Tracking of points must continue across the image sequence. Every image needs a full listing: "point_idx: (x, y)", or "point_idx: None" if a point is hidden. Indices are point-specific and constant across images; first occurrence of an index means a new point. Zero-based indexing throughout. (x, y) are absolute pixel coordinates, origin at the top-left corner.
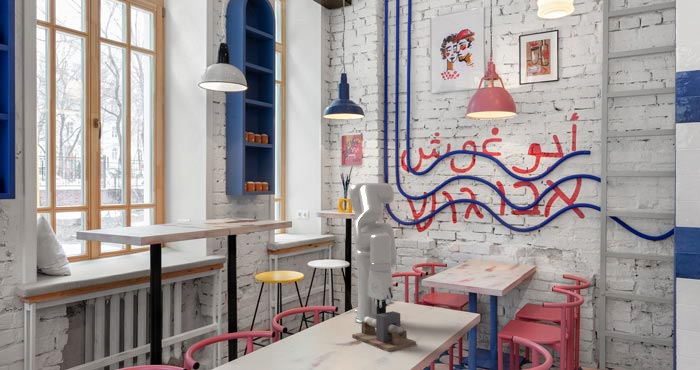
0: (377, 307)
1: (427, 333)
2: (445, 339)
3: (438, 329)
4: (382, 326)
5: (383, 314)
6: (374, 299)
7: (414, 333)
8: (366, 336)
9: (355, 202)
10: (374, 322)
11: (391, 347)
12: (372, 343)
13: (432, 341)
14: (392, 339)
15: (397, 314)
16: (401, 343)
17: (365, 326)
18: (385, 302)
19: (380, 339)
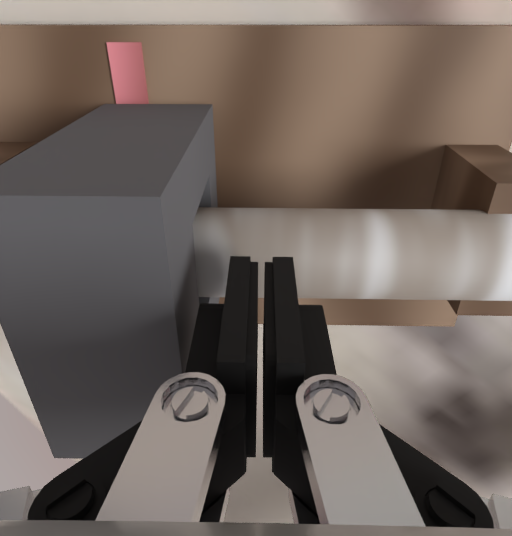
0: (278, 360)
1: None
2: (79, 459)
3: (239, 521)
4: (52, 142)
5: (98, 288)
6: (458, 519)
7: (261, 427)
8: (375, 105)
9: None
10: (349, 229)
11: None
12: (187, 25)
13: None
14: (12, 154)
15: (46, 420)
16: None
17: (473, 178)
18: (31, 515)
19: (147, 107)
